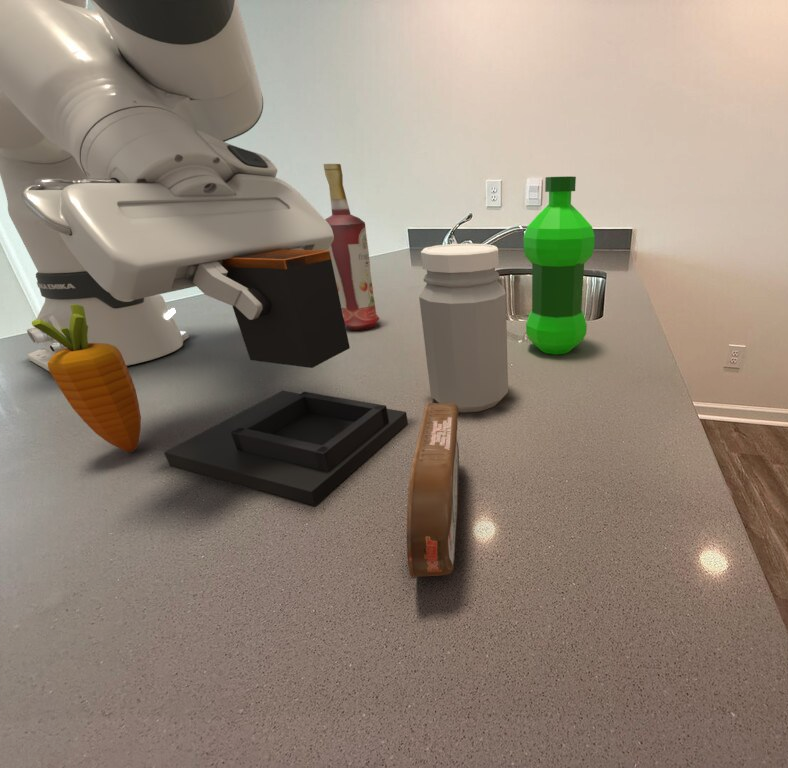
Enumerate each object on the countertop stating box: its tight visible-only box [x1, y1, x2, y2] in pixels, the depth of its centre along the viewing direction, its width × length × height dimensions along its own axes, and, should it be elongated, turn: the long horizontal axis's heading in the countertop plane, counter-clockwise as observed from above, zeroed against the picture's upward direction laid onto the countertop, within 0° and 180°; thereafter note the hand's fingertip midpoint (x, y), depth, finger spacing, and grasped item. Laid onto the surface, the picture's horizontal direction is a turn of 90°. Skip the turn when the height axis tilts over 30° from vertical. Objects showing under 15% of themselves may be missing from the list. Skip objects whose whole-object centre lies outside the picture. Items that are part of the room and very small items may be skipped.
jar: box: [418, 243, 509, 414], centre depth 47 cm, size 10×10×18 cm
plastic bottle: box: [523, 176, 596, 355], centre depth 61 cm, size 10×10×25 cm
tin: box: [406, 401, 460, 579], centre depth 30 cm, size 15×3×8 cm, turn 5°
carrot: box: [31, 304, 142, 453], centre depth 39 cm, size 5×5×15 cm
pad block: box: [222, 249, 351, 369], centre depth 36 cm, size 7×5×9 cm
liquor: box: [323, 163, 380, 331], centre depth 73 cm, size 7×7×28 cm
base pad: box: [163, 390, 409, 506], centre depth 42 cm, size 18×14×4 cm
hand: (293, 303), depth 36 cm, fingers closed on pad block, 5 cm apart
